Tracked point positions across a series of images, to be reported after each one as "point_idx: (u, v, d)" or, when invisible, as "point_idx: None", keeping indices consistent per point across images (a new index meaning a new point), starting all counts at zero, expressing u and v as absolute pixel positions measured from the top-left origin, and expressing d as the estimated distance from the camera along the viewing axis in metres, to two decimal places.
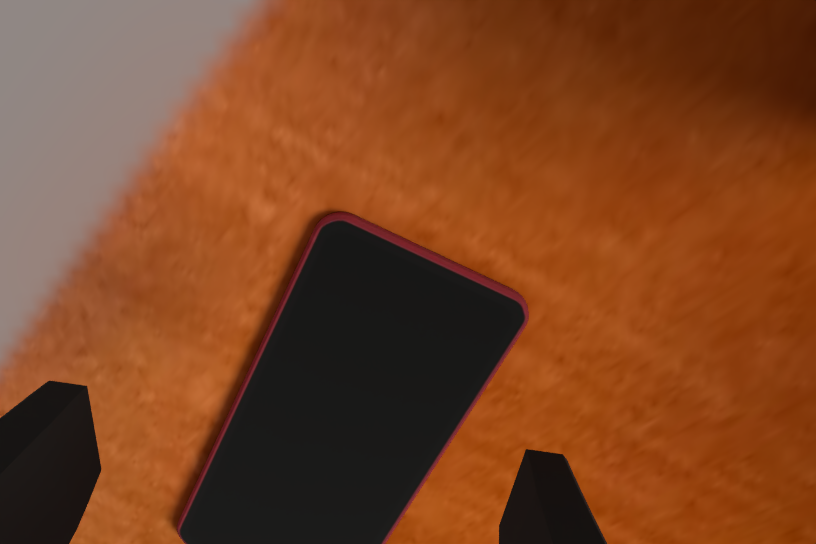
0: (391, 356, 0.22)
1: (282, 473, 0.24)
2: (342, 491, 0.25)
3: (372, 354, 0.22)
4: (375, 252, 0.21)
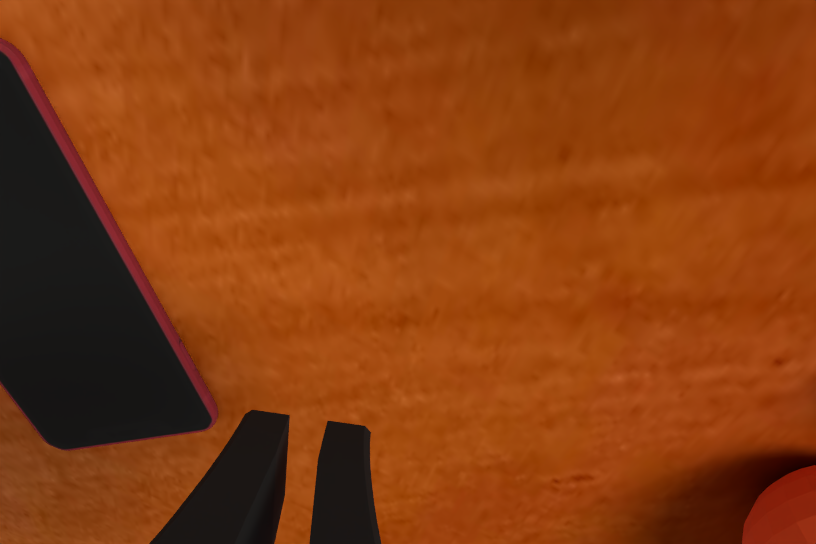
0: None
1: (43, 348, 0.24)
2: (96, 332, 0.23)
3: None
4: None
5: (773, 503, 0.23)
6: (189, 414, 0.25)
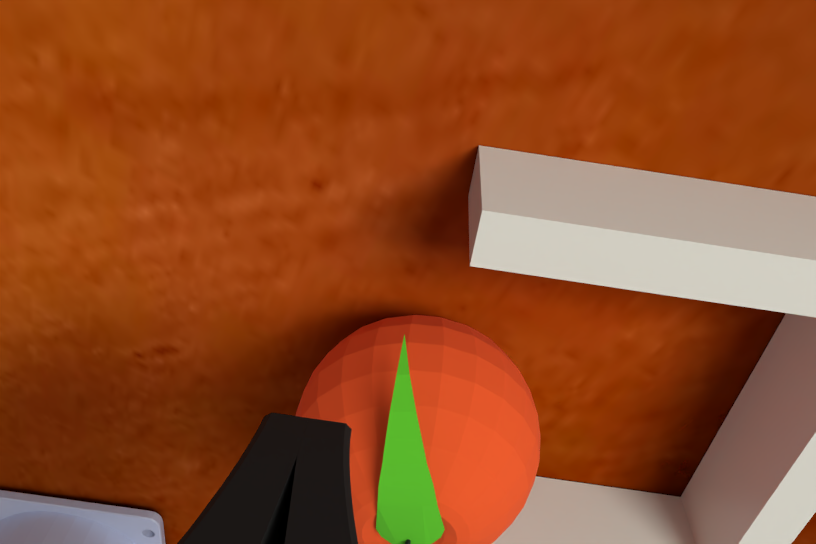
0: None
1: None
2: None
3: None
4: None
5: None
6: None
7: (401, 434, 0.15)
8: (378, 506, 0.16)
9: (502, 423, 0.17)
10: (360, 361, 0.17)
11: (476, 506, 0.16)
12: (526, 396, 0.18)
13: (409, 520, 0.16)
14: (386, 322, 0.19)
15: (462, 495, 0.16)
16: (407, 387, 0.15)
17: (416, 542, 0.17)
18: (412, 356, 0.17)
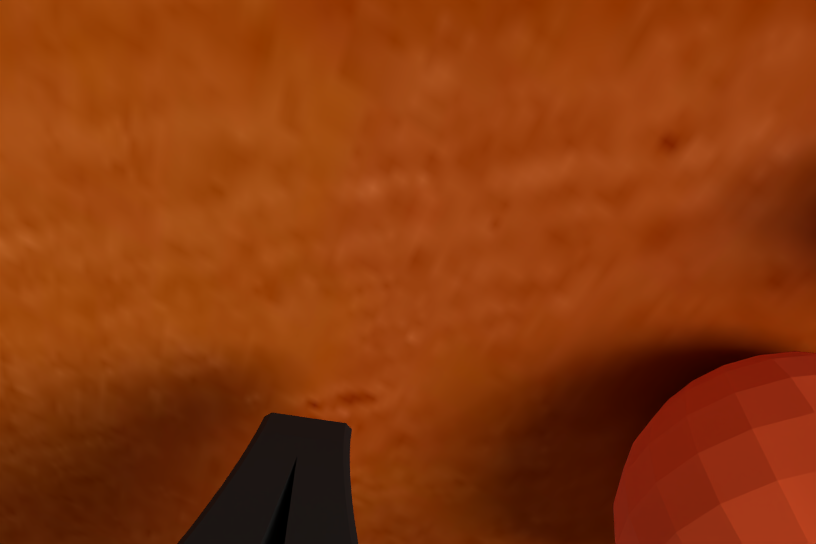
0: None
1: None
2: None
3: None
4: None
5: (663, 424, 0.12)
6: None
7: None
8: None
9: None
10: (798, 441, 0.10)
11: None
12: None
13: None
14: (790, 367, 0.11)
15: None
16: None
17: None
18: None
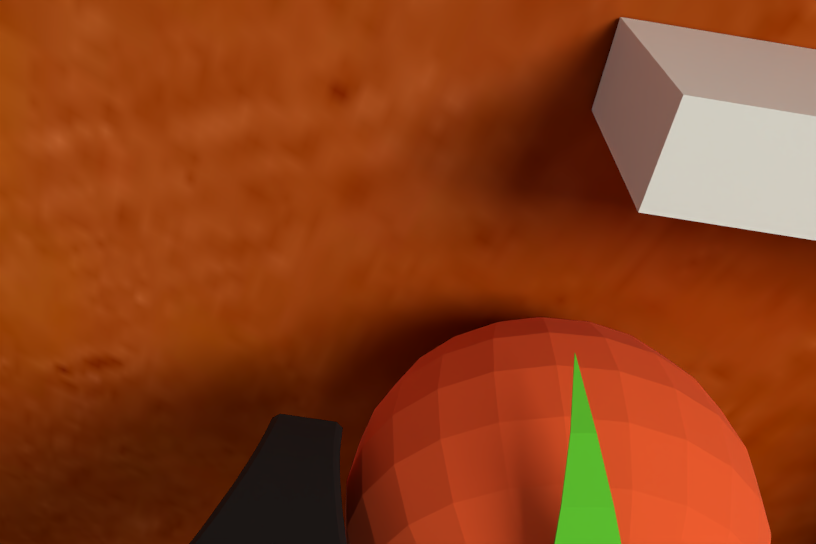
0: None
1: None
2: None
3: None
4: None
5: (391, 390, 0.12)
6: None
7: None
8: None
9: (737, 515, 0.09)
10: (471, 400, 0.10)
11: None
12: None
13: None
14: (502, 329, 0.11)
15: None
16: (593, 457, 0.08)
17: None
18: (568, 390, 0.09)
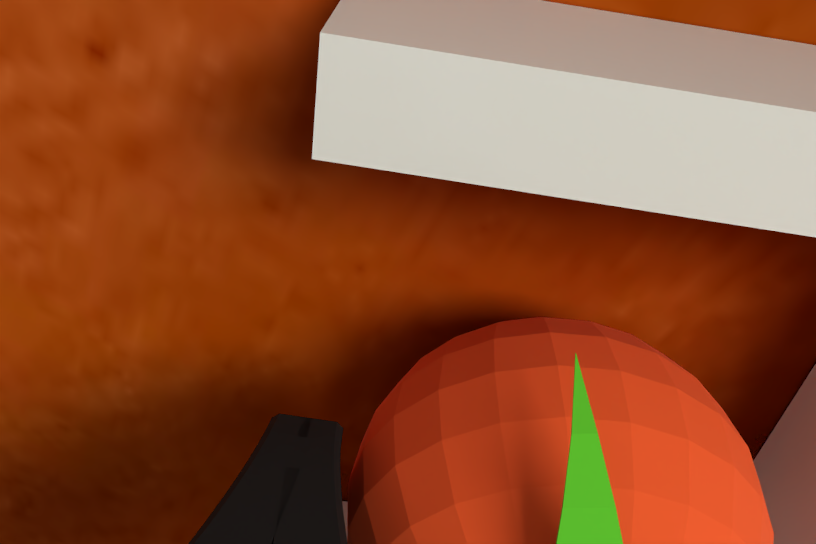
0: None
1: None
2: None
3: None
4: None
5: (392, 391, 0.12)
6: None
7: None
8: None
9: (740, 515, 0.09)
10: (472, 400, 0.10)
11: None
12: (751, 456, 0.10)
13: None
14: (503, 330, 0.11)
15: None
16: (595, 458, 0.08)
17: None
18: (570, 390, 0.09)
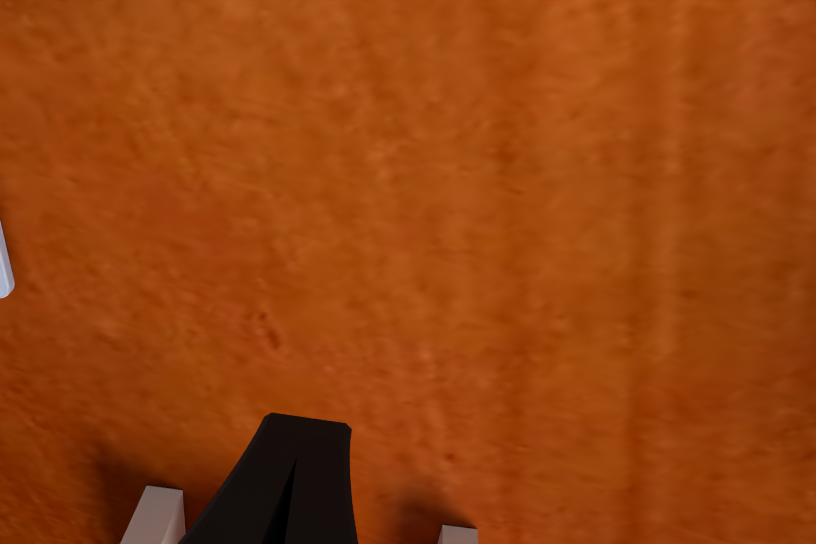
0: None
1: None
2: None
3: None
4: None
5: None
6: None
7: None
8: None
9: None
10: None
11: None
12: None
13: None
14: None
15: None
16: None
17: None
18: None
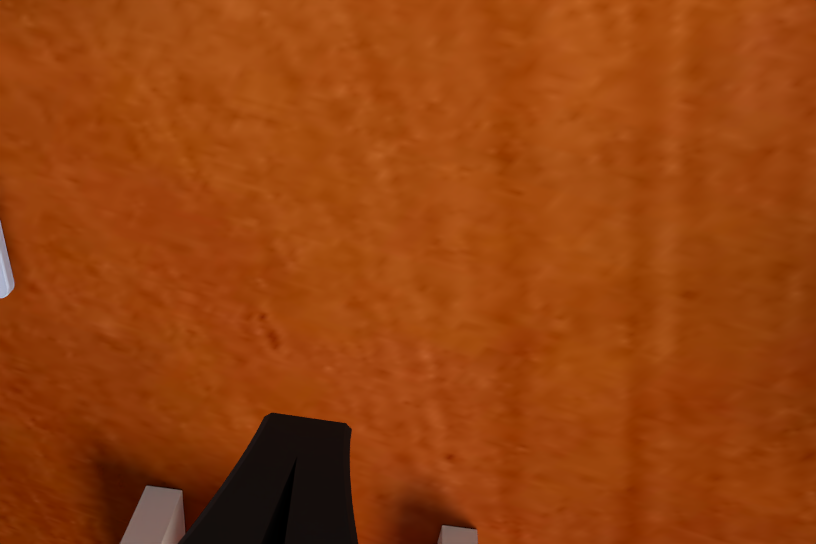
0: None
1: None
2: None
3: None
4: None
5: None
6: None
7: None
8: None
9: None
10: None
11: None
12: None
13: None
14: None
15: None
16: None
17: None
18: None
